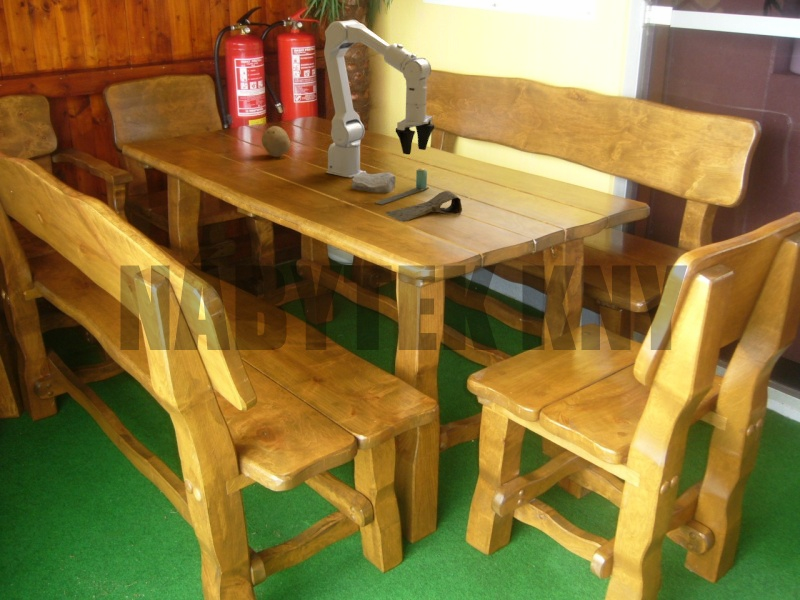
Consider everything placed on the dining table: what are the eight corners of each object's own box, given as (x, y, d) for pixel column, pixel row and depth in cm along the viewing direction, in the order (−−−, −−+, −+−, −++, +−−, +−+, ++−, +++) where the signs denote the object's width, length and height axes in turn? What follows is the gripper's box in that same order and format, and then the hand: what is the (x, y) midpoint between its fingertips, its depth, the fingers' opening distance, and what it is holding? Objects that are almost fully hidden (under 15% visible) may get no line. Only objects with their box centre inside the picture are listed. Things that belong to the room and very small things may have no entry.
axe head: (393, 217, 204) (378, 206, 213) (395, 236, 206) (381, 224, 215) (467, 197, 210) (449, 187, 219) (468, 215, 212) (451, 205, 221)
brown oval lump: (260, 154, 271) (259, 123, 267) (287, 153, 273) (286, 122, 269) (264, 160, 263) (263, 129, 259) (292, 159, 265) (291, 128, 261)
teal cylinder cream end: (413, 187, 234) (414, 169, 232) (419, 185, 236) (420, 167, 234) (422, 189, 233) (423, 171, 231) (428, 187, 235) (429, 169, 233)
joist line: (374, 203, 220) (374, 202, 220) (421, 187, 237) (421, 185, 237) (382, 205, 219) (382, 203, 219) (428, 188, 236) (428, 187, 235)
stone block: (390, 200, 231) (397, 184, 239) (389, 184, 228) (396, 169, 236) (349, 198, 233) (357, 183, 241) (347, 183, 230) (356, 168, 239)
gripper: (412, 108, 222) (410, 158, 228) (442, 102, 233) (440, 149, 238) (391, 105, 226) (390, 154, 231) (422, 99, 237) (420, 145, 242)
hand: (414, 151), depth 235 cm, fingers open, 7 cm apart
